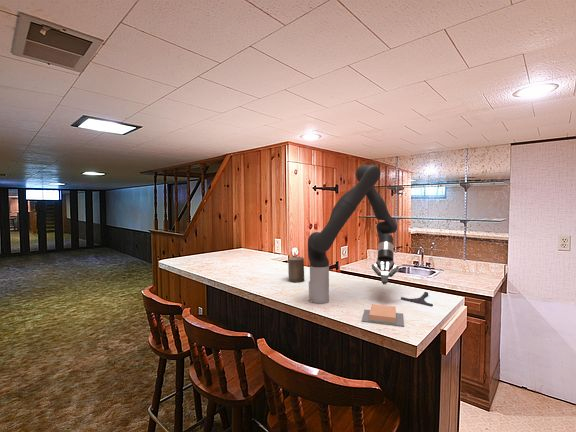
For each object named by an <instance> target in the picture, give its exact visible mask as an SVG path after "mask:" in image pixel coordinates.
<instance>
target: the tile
mask: <svg viewBox="0 0 576 432" xmlns="http://www.w3.org/2000/svg"><path fill="white" fill-rule="evenodd" d="M369 310H370V314H369V321H374V322H383V323H391V324H396V313H397V311H396V310H397V307H396V306H395V305H393V306H392V305H384V304H376V303H375V304H374V303H371V305H370V309H369Z"/></svg>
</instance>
